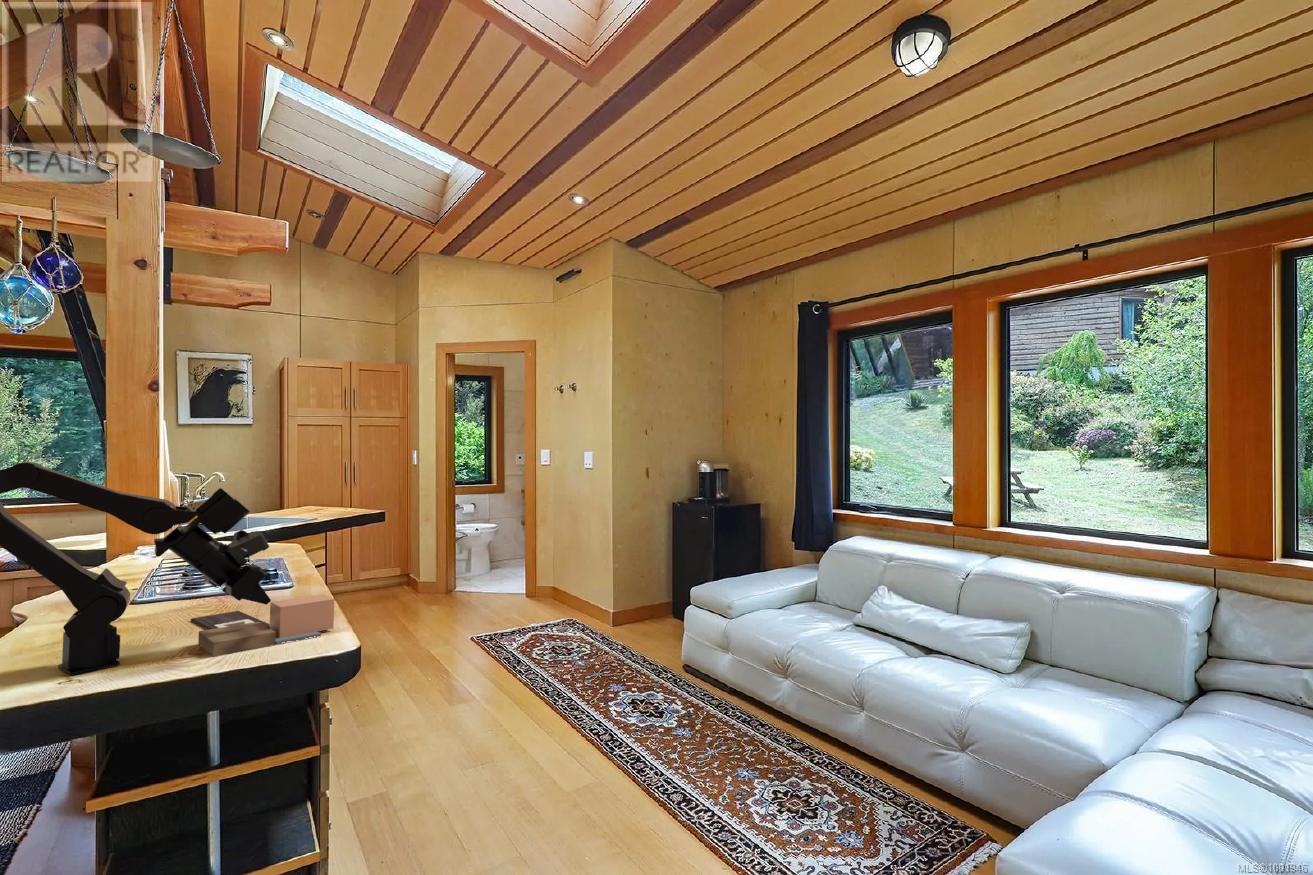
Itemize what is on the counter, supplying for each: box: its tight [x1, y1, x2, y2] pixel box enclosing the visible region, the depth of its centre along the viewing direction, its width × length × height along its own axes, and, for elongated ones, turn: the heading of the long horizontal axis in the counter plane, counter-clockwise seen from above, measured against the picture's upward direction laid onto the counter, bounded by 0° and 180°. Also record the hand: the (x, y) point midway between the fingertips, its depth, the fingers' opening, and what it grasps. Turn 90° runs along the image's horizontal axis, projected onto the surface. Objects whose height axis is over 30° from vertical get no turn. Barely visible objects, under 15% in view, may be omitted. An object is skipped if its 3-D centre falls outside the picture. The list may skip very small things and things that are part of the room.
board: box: [197, 622, 276, 657], centre depth 122 cm, size 10×10×2 cm
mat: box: [275, 631, 322, 645], centre depth 129 cm, size 8×10×1 cm
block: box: [269, 593, 335, 638], centre depth 130 cm, size 6×6×10 cm
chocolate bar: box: [190, 610, 270, 630], centre depth 135 cm, size 9×1×18 cm
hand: (268, 602), depth 126 cm, fingers closed
